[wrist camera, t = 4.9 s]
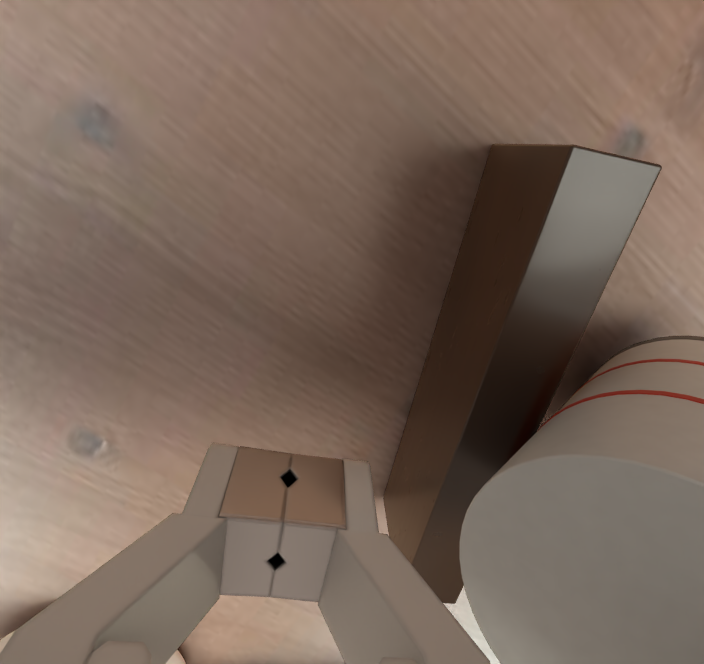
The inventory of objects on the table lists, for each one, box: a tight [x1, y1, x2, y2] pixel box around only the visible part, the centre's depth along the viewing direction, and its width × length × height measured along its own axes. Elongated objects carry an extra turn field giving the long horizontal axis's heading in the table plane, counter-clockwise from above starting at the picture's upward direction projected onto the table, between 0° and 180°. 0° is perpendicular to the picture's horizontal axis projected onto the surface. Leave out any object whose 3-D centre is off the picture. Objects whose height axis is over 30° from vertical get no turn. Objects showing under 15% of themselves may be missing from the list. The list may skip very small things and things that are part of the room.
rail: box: [383, 144, 662, 604], centre depth 13 cm, size 14×2×4 cm, turn 169°
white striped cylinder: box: [460, 336, 704, 664], centre depth 10 cm, size 6×11×11 cm, turn 79°
